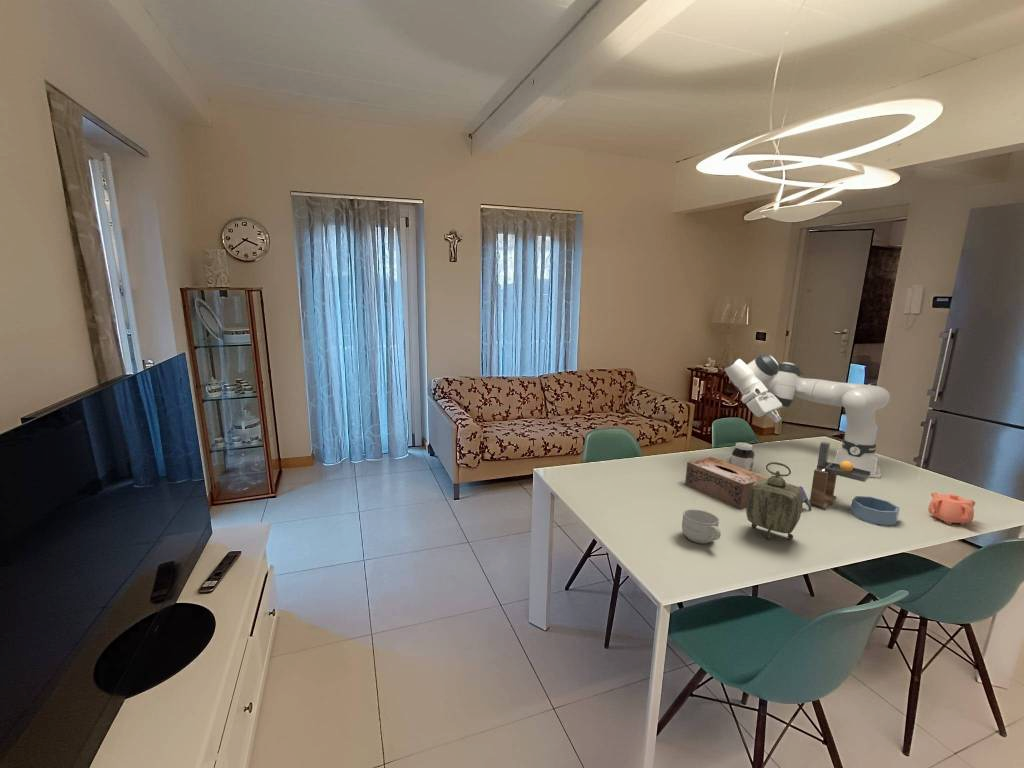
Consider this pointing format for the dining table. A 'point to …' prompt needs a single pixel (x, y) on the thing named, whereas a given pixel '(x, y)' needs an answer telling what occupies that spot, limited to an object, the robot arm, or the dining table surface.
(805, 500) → the flower
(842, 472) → the lever
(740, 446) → the spread jar
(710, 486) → the tissue box cover
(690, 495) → the dining table surface
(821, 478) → the stand
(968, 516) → the teapot
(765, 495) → the tabletop clock
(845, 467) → the ball
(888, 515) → the blue octagonal bowl
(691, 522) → the teacup
